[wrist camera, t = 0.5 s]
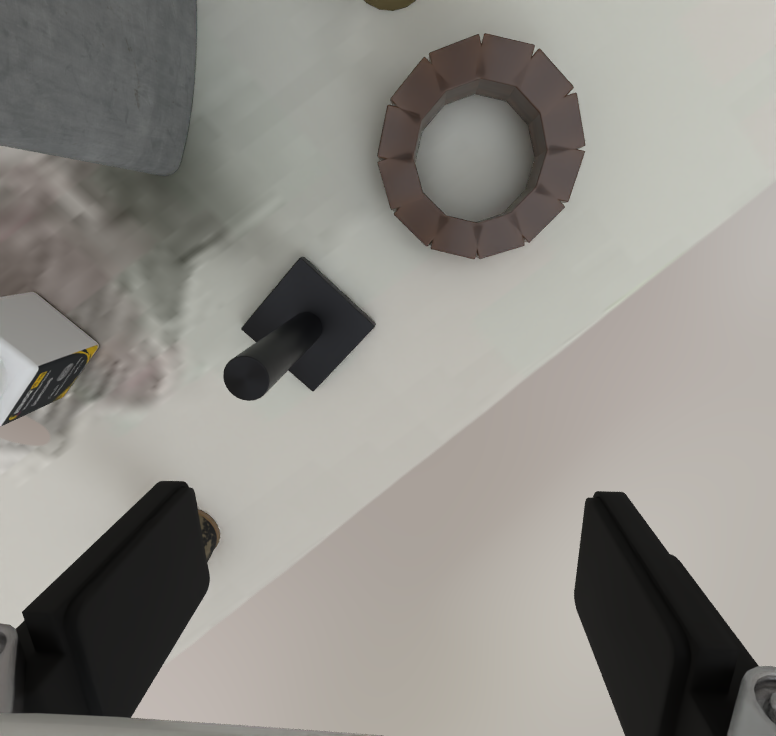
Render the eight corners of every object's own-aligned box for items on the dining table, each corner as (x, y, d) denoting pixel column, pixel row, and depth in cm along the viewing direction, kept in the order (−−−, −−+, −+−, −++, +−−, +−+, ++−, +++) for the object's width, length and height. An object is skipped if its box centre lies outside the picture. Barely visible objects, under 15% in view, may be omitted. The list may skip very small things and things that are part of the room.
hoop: (476, 10, 30) (482, -17, 27) (605, 154, 32) (626, 146, 29) (348, 167, 34) (339, 161, 31) (471, 288, 36) (476, 295, 33)
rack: (303, 256, 36) (231, 274, 23) (376, 323, 37) (347, 378, 24) (245, 326, 38) (148, 379, 25) (315, 388, 40) (258, 470, 26)
